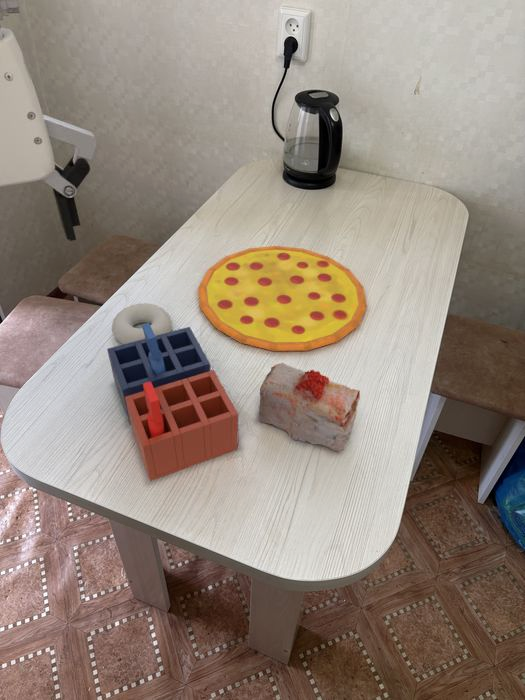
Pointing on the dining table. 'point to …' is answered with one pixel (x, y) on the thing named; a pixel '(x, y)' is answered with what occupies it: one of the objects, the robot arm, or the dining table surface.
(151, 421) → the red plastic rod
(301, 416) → the food item
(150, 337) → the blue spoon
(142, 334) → the donut
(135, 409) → the red caddy
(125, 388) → the blue caddy
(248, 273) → the pizza
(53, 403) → the dining table surface
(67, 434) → the dining table surface
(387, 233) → the dining table surface
